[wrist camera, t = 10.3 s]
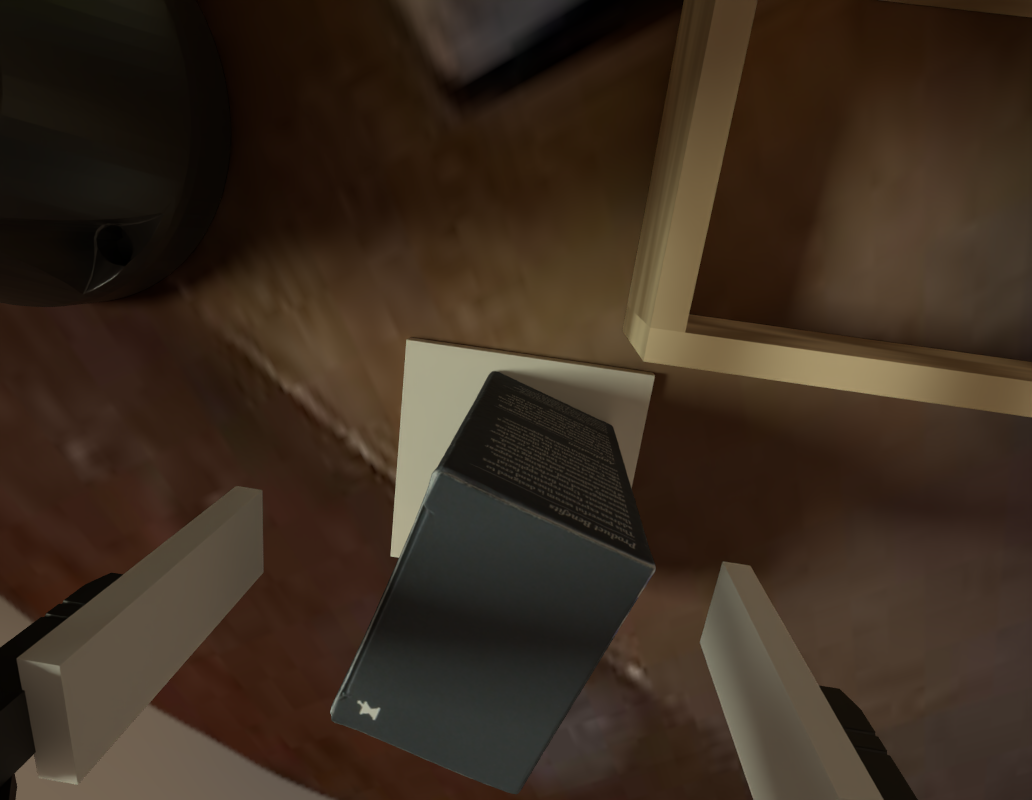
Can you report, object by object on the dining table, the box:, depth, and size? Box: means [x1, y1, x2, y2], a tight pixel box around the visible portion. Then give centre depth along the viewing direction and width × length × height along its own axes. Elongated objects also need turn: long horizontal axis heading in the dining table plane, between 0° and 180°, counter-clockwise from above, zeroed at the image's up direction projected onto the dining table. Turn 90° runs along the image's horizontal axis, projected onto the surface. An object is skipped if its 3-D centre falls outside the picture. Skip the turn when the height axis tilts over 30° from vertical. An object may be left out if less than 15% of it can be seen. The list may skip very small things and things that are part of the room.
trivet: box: [391, 337, 655, 558], centre depth 23 cm, size 10×10×1 cm
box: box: [330, 371, 656, 794], centre depth 18 cm, size 8×6×11 cm
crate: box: [622, 0, 1032, 417], centre depth 17 cm, size 19×13×6 cm
